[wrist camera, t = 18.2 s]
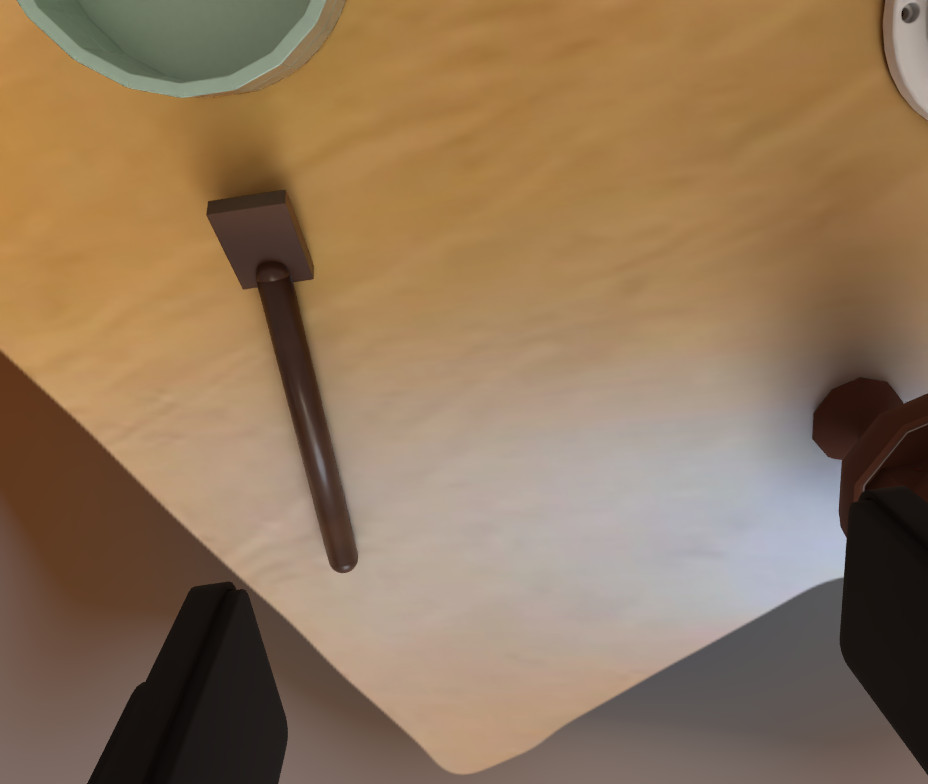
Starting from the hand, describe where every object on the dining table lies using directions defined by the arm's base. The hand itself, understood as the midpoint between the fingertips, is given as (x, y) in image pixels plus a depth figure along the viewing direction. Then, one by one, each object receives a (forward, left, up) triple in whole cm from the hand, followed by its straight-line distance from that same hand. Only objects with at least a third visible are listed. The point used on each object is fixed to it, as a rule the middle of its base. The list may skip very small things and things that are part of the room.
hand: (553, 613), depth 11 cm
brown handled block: (+10, +4, -33) cm, 35 cm away
